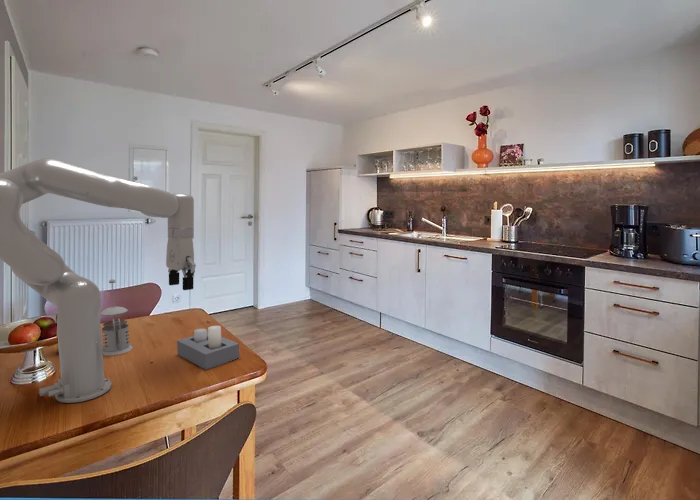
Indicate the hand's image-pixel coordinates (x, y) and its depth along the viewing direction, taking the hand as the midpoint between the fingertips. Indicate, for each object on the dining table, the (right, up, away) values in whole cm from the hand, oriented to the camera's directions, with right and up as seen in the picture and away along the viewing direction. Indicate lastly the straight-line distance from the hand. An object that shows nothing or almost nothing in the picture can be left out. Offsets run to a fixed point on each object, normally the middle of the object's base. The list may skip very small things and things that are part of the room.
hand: (180, 287), depth 124 cm
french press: (-27, -23, +11) cm, 37 cm away
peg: (+10, -23, +4) cm, 25 cm away
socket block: (+6, -24, +7) cm, 26 cm away
